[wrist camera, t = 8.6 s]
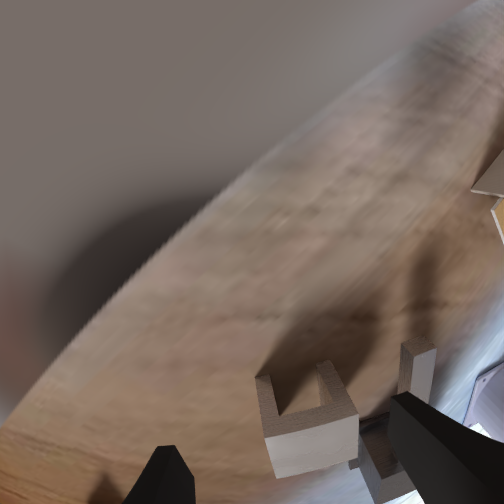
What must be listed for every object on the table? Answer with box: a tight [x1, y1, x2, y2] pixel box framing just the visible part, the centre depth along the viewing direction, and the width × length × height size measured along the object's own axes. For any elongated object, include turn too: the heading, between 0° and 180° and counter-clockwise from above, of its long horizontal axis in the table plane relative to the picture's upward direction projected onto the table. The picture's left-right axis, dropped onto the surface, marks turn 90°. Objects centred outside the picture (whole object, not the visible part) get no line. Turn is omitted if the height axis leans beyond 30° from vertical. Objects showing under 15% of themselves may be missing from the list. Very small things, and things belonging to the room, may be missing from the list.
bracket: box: [255, 360, 359, 479], centre depth 18 cm, size 5×4×6 cm
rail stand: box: [349, 335, 437, 504], centre depth 19 cm, size 6×16×6 cm, turn 11°
